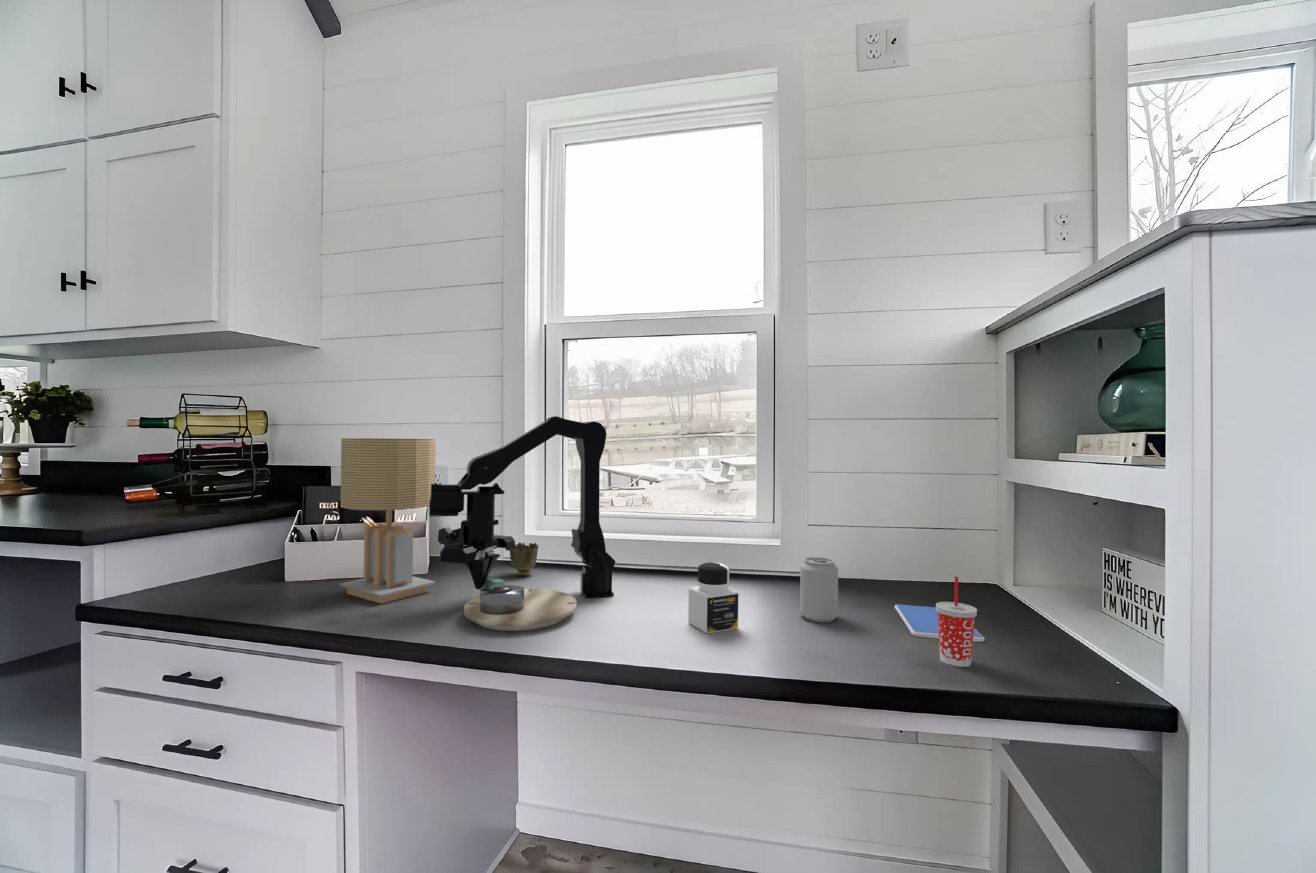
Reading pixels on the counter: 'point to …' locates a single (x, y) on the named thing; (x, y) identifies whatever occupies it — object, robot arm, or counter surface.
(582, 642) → the counter surface
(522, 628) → the turntable base
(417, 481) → the desk lamp
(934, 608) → the tablet computer
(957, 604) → the beverage cup
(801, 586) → the can
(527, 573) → the cup
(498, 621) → the turntable
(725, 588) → the medicine bottle
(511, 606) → the iron cover
